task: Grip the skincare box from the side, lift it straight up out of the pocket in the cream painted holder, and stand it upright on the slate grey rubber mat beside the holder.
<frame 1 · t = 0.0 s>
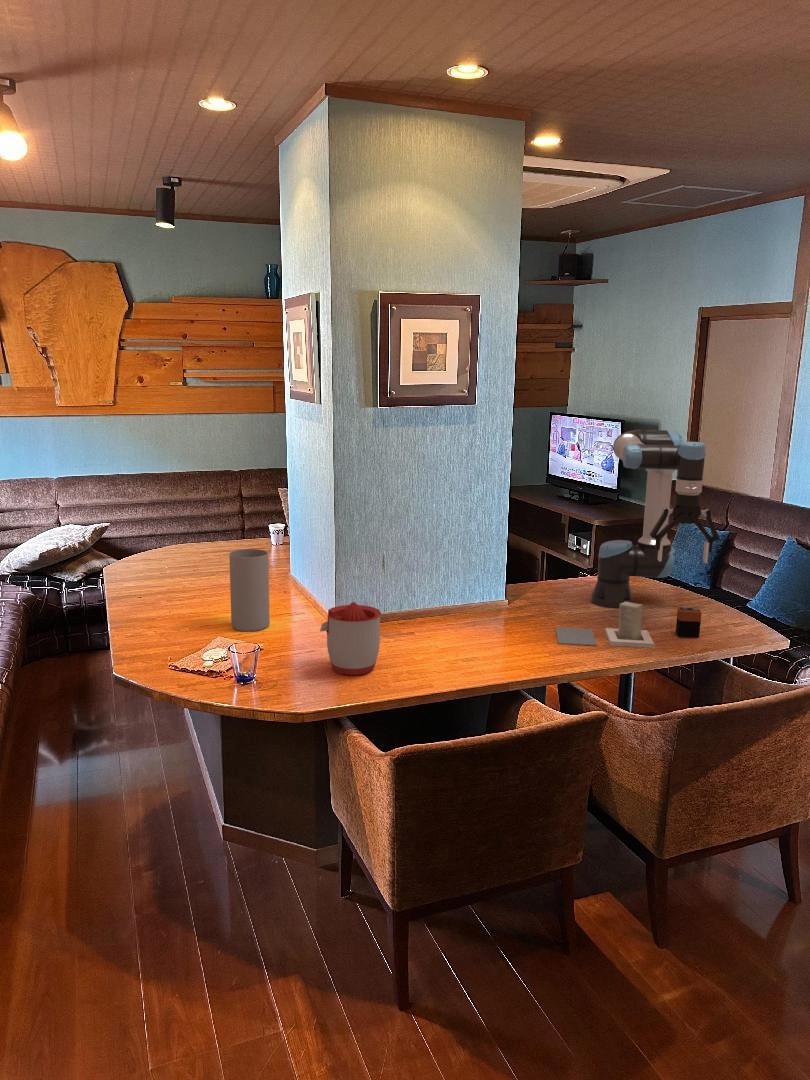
hand: (682, 561, 250), 28 cm above the table, tool pointing down, fingers open, 13 cm apart
skincare box: (628, 640, 263), resting in pocket holder
cylinder vase: (250, 626, 270), on the table
citrus juicer: (350, 669, 233), on the table
pocket holder: (628, 640, 262), on the table
grey mat: (575, 637, 264), on the table
battery: (687, 636, 268), on the table
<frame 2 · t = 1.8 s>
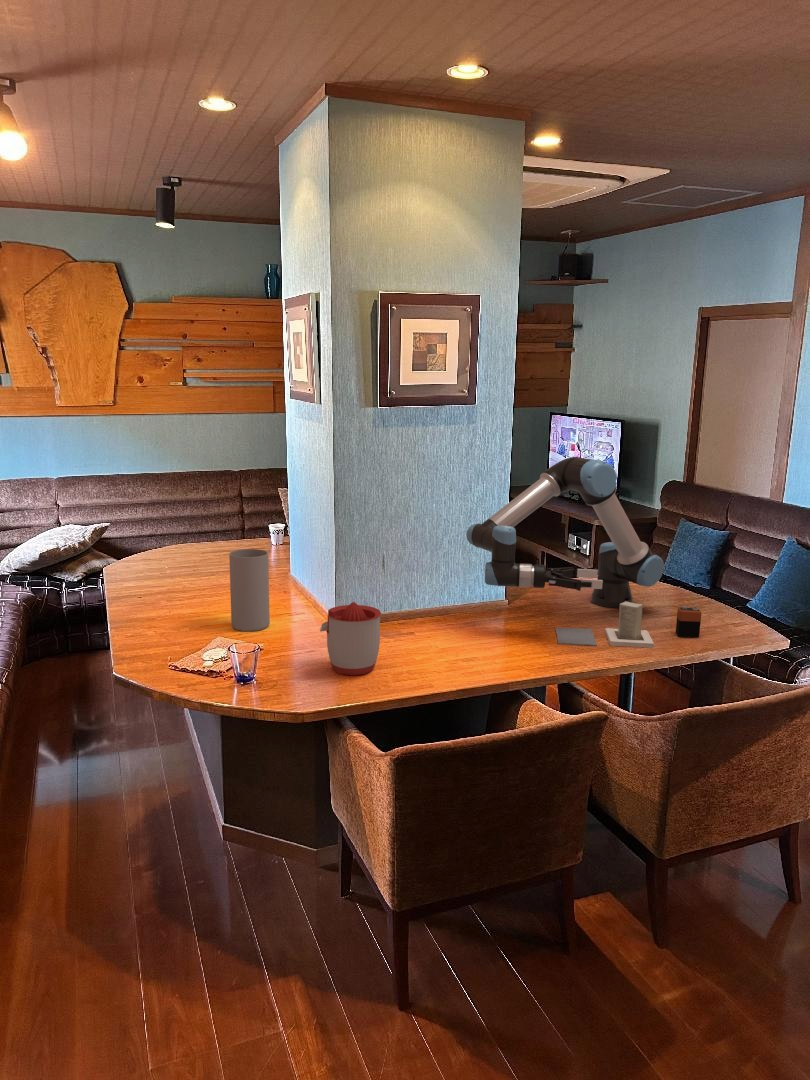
hand: (599, 579, 260), 20 cm above the table, tool horizontal, fingers open, 13 cm apart
nothing on the table moved.
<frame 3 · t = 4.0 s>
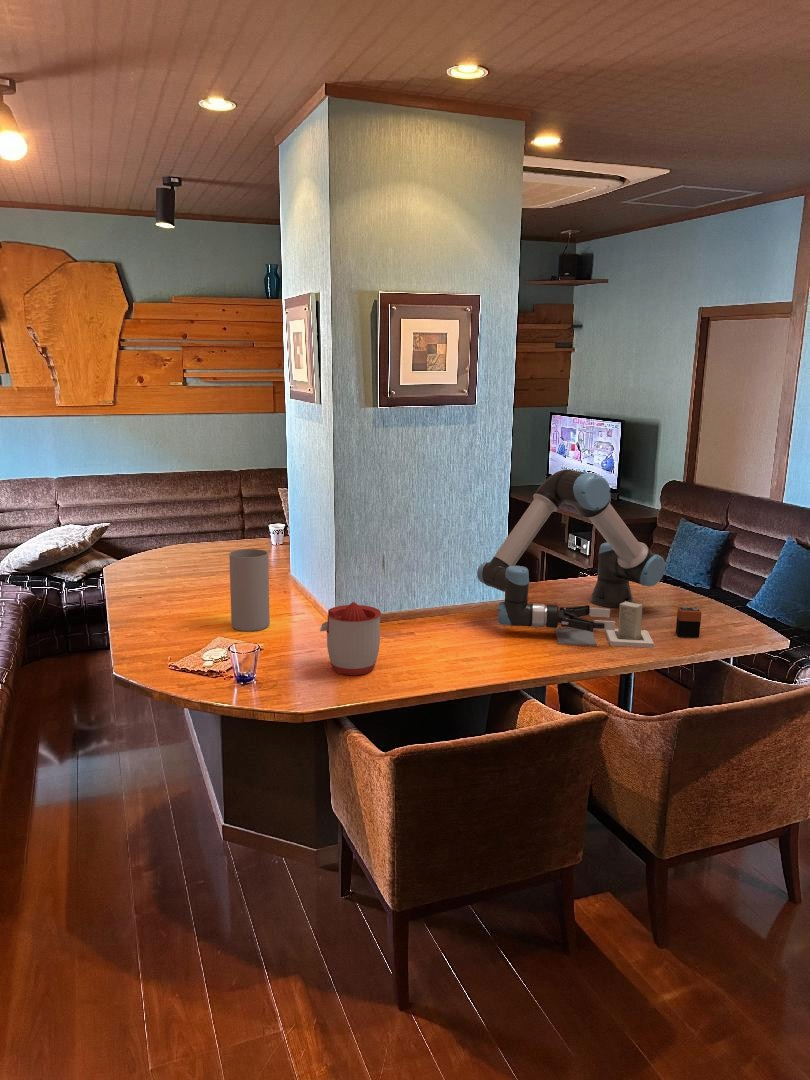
hand: (612, 619, 261), 7 cm above the table, tool horizontal, fingers open, 13 cm apart
nothing on the table moved.
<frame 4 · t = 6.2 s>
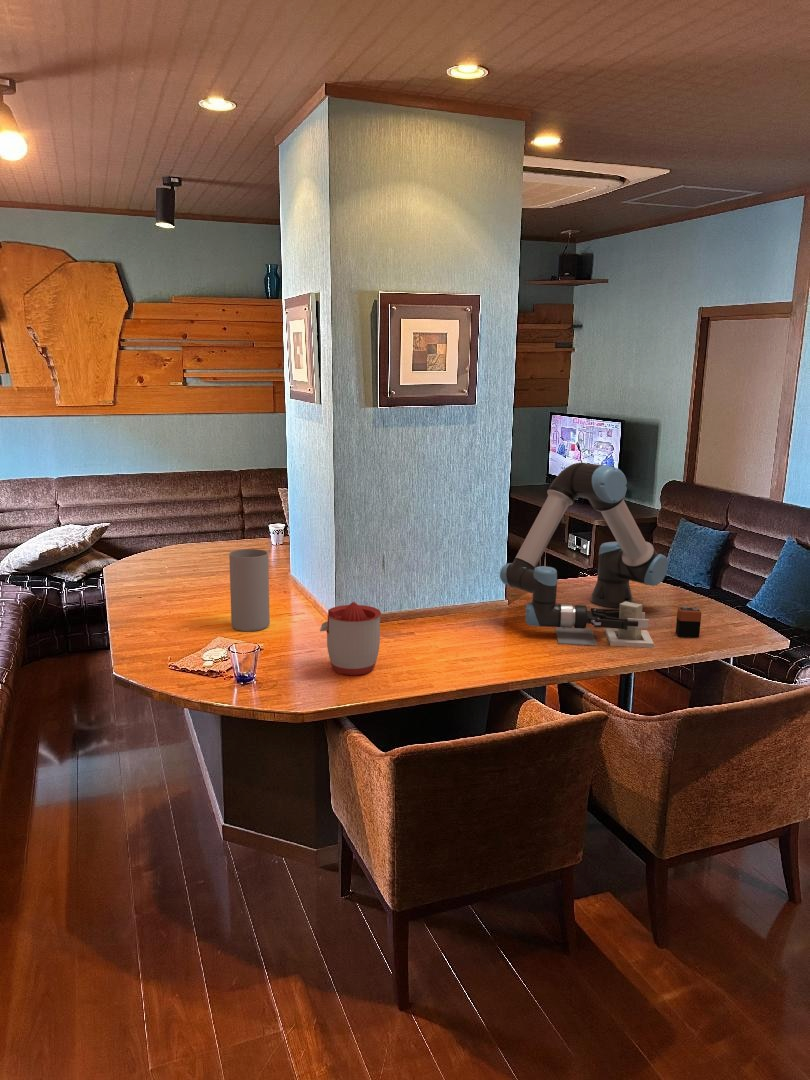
hand: (646, 620, 260), 7 cm above the table, tool horizontal, fingers closed on skincare box, 7 cm apart
skincare box: (628, 640, 263), resting in pocket holder, touching gripper
everything else where it was.
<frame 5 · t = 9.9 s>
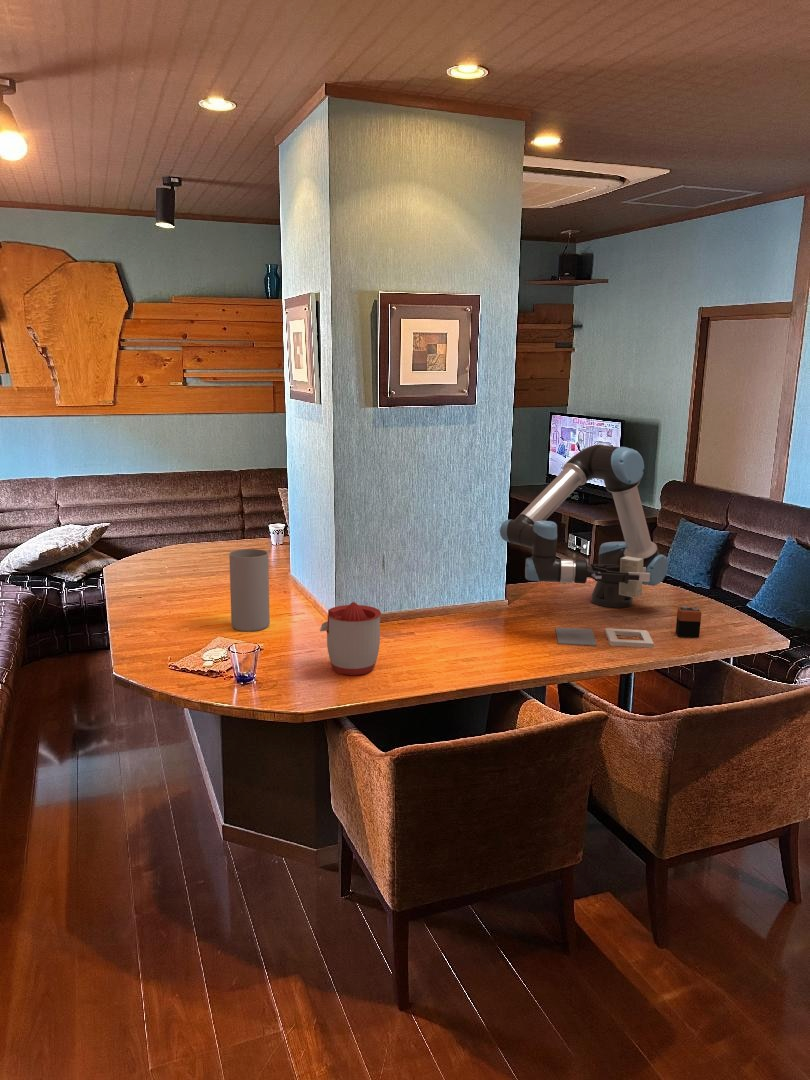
hand: (647, 574, 257), 22 cm above the table, tool horizontal, fingers closed on skincare box, 7 cm apart
skincare box: (629, 595, 259), point 15 cm above the table, touching gripper
everything else where it was.
when the fingers open (8 cm above the table, at t = 13.8 s): skincare box stays where it is, resting on grey mat.
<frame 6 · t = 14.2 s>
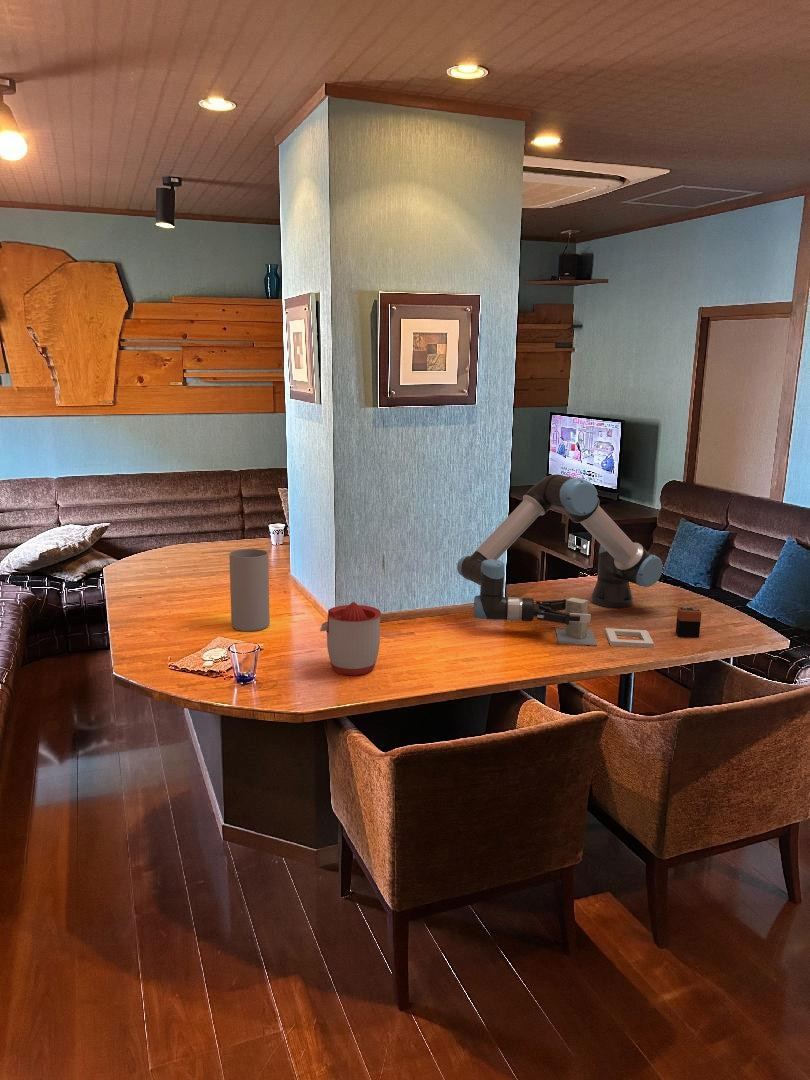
hand: (588, 612, 262), 8 cm above the table, tool horizontal, fingers open, 12 cm apart
skincare box: (575, 636, 264), resting on grey mat
everything else where it was.
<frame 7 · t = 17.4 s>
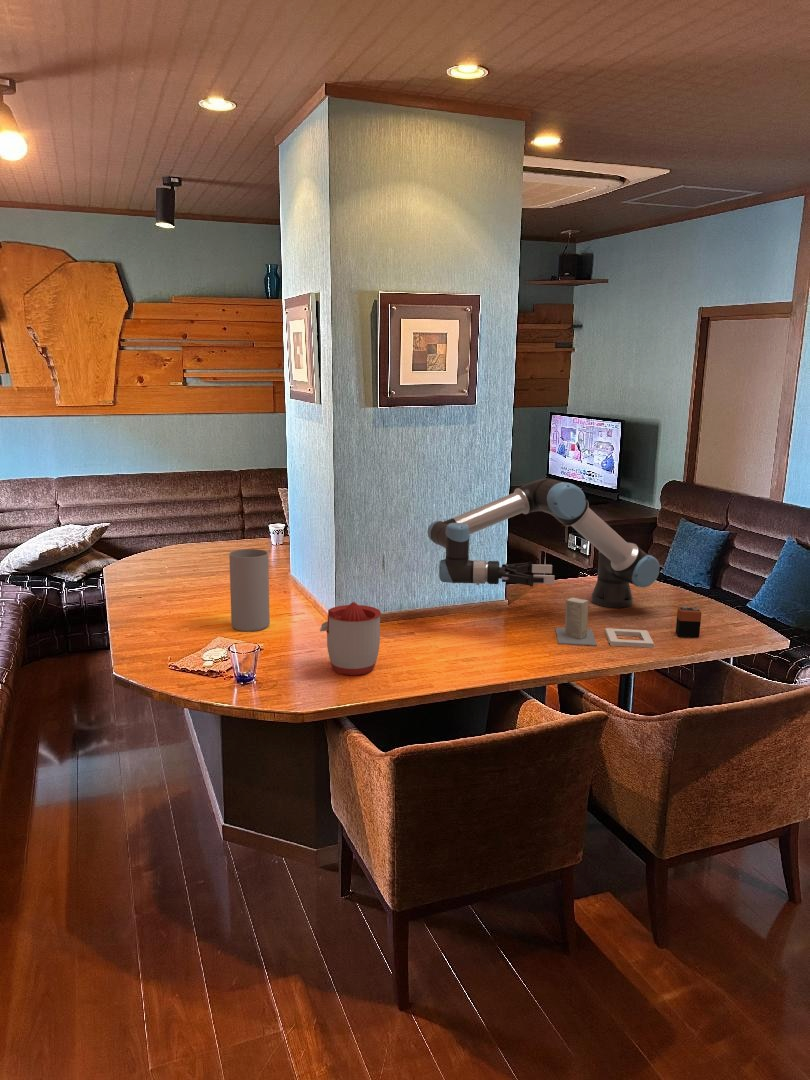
hand: (553, 574, 261), 21 cm above the table, tool horizontal, fingers open, 13 cm apart
nothing on the table moved.
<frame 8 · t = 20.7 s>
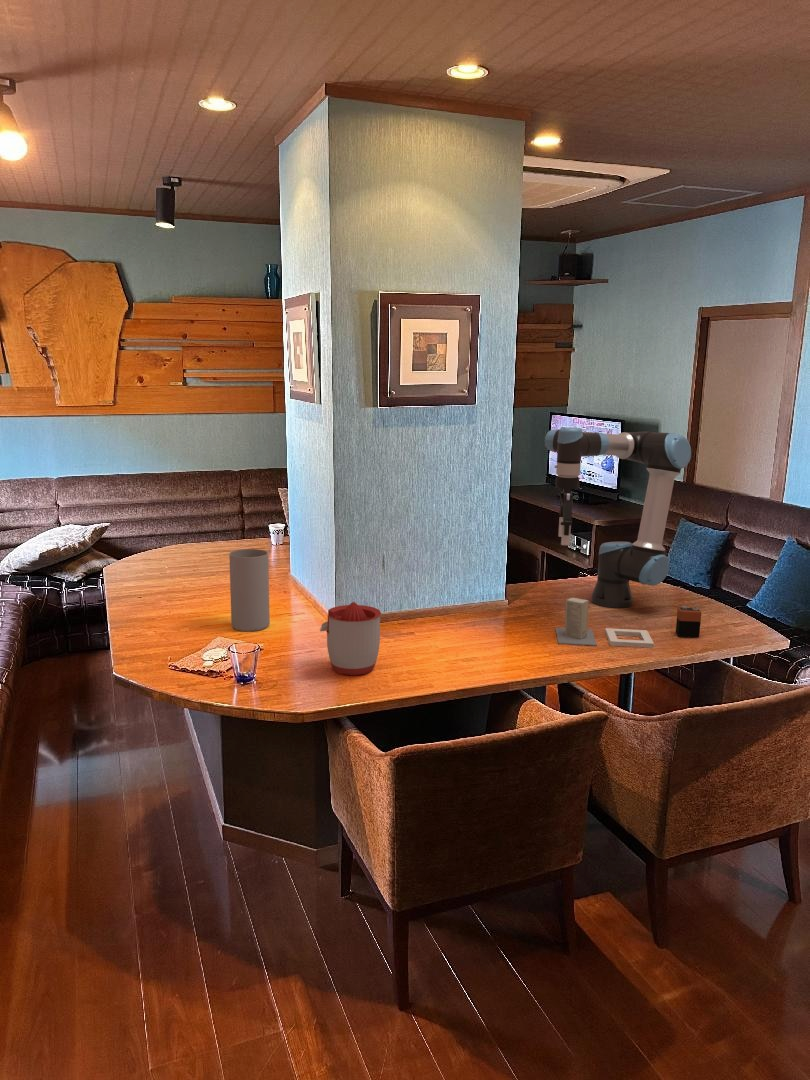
hand: (563, 540, 264), 31 cm above the table, tool pointing down, fingers open, 13 cm apart
nothing on the table moved.
at the end: skincare box inside the target area on the grey mat (0.1 cm from its centre), point 0.3 cm above the grey mat's base; skincare box tilted 0°; skincare box touching grey mat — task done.
